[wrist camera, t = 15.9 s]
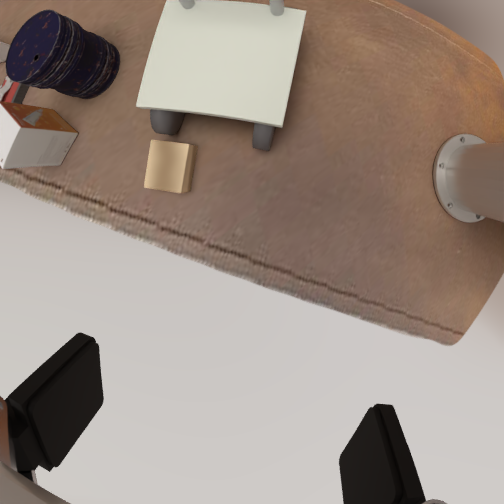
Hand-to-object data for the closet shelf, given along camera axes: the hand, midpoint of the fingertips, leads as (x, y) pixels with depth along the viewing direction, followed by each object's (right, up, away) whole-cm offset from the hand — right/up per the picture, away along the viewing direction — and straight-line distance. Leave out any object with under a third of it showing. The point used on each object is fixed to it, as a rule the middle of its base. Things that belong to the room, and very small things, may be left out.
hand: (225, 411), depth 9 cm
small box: (-30, +24, +31) cm, 49 cm away
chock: (-9, +16, +30) cm, 36 cm away
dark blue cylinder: (-23, +33, +28) cm, 49 cm away
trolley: (-2, +28, +26) cm, 39 cm away
